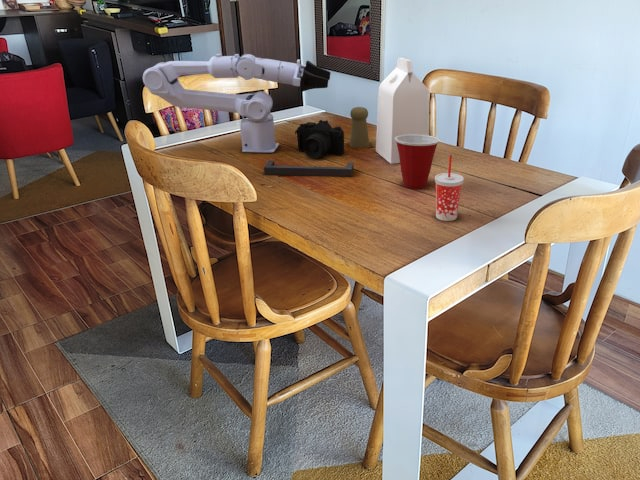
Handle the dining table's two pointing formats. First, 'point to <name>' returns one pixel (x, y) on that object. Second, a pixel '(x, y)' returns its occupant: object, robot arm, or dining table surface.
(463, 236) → the dining table surface
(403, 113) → the milk
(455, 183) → the beverage cup
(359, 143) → the cork
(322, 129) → the film camera
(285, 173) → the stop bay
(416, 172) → the plastic cup
